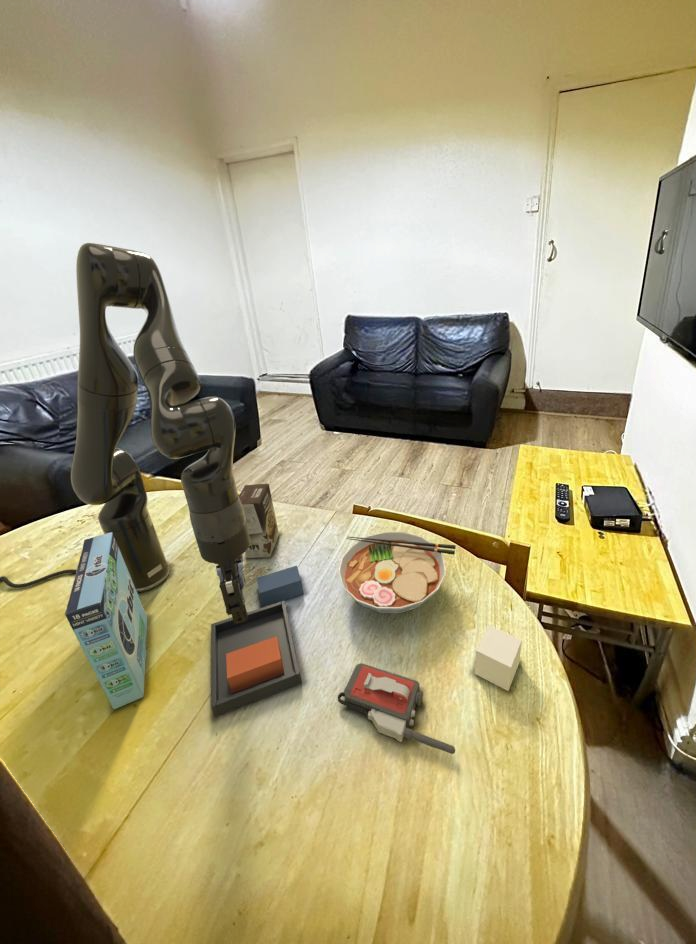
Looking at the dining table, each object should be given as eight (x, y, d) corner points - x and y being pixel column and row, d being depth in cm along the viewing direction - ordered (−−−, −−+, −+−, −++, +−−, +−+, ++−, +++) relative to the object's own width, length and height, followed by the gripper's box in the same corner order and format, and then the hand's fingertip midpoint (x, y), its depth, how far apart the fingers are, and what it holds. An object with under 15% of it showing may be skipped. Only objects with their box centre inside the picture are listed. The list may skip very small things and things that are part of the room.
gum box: (122, 626, 86) (82, 539, 76) (149, 616, 88) (114, 530, 78) (112, 711, 70) (60, 614, 60) (146, 697, 72) (100, 601, 62)
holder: (214, 717, 68) (211, 707, 67) (214, 633, 83) (211, 623, 82) (302, 683, 73) (300, 673, 71) (286, 609, 88) (284, 600, 86)
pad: (232, 693, 71) (227, 678, 69) (230, 668, 75) (226, 653, 74) (284, 673, 74) (280, 658, 72) (280, 650, 78) (276, 635, 76)
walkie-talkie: (331, 717, 67) (453, 764, 60) (328, 699, 65) (453, 746, 58) (354, 668, 74) (465, 706, 67) (352, 652, 73) (465, 688, 66)
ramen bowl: (320, 623, 84) (315, 593, 80) (356, 548, 104) (353, 522, 100) (443, 648, 77) (443, 616, 74) (456, 563, 97) (457, 535, 94)
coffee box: (271, 557, 102) (259, 503, 96) (245, 558, 103) (232, 504, 96) (280, 534, 111) (269, 482, 104) (256, 534, 111) (244, 483, 104)
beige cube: (519, 663, 74) (522, 639, 71) (508, 691, 69) (511, 667, 67) (486, 647, 77) (488, 624, 74) (474, 673, 72) (475, 650, 70)
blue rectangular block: (262, 607, 88) (258, 593, 87) (259, 590, 93) (256, 577, 91) (303, 593, 91) (301, 580, 90) (299, 578, 95) (296, 565, 94)
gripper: (196, 505, 68) (217, 579, 75) (190, 561, 56) (216, 643, 63) (243, 495, 71) (259, 567, 77) (247, 546, 58) (266, 627, 65)
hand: (240, 601), depth 70 cm, fingers open, 8 cm apart
